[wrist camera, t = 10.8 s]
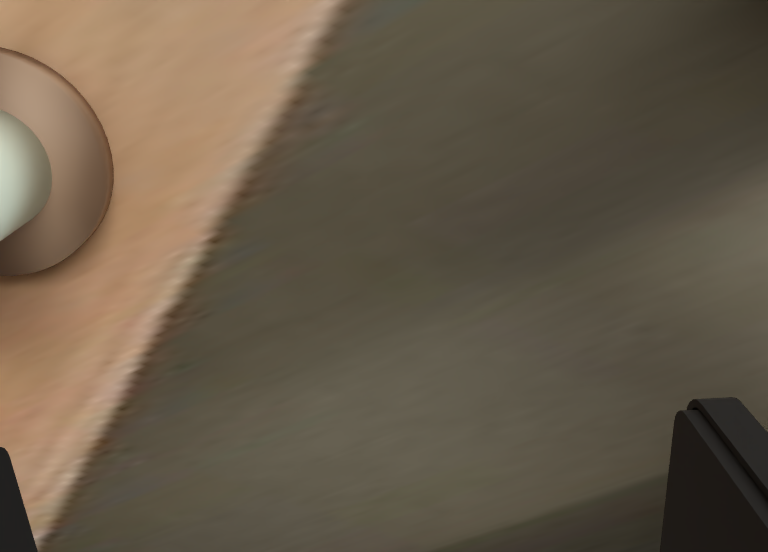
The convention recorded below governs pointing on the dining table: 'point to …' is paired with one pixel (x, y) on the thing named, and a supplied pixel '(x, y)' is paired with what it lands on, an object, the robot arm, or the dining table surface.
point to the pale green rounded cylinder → (21, 174)
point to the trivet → (55, 164)
